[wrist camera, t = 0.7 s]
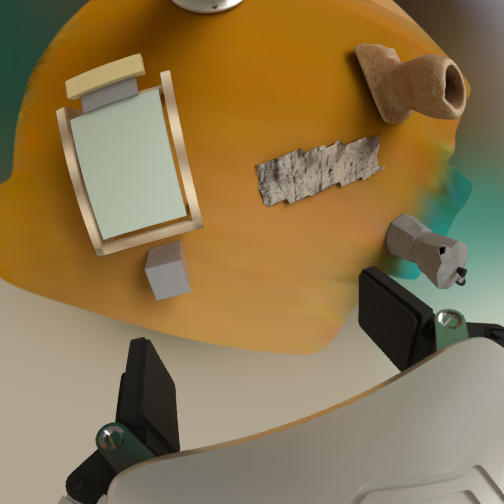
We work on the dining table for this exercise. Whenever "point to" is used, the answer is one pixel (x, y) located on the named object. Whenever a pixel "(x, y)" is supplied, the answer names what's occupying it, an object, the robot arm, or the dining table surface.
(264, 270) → the dining table surface
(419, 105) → the stone cup
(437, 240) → the coffeepot
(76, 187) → the trapdoor frame
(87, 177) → the trapdoor
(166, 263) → the granite block
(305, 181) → the stone fragment
